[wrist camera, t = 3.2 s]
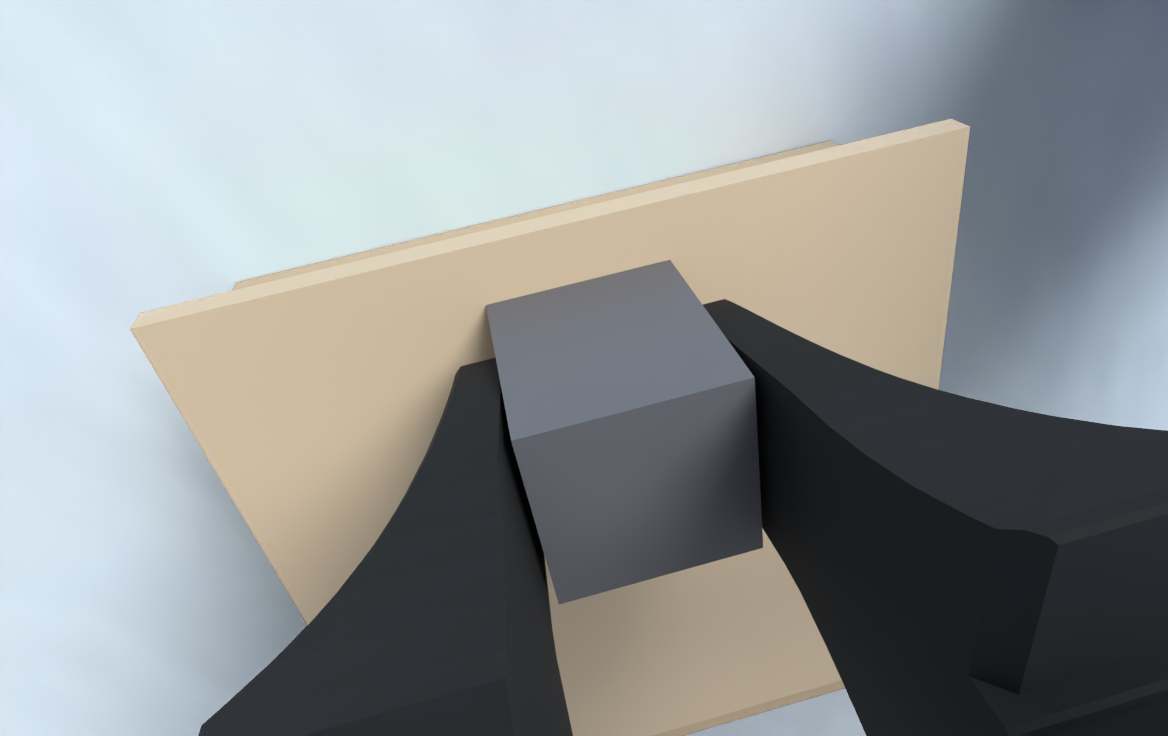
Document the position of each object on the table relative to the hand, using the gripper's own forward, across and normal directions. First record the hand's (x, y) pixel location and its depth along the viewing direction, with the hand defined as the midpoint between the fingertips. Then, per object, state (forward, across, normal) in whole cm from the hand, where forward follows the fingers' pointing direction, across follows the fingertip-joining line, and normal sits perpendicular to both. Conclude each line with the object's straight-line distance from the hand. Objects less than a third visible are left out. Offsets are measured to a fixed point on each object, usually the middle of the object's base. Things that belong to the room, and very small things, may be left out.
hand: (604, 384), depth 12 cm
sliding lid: (+1, 0, +5) cm, 5 cm away
